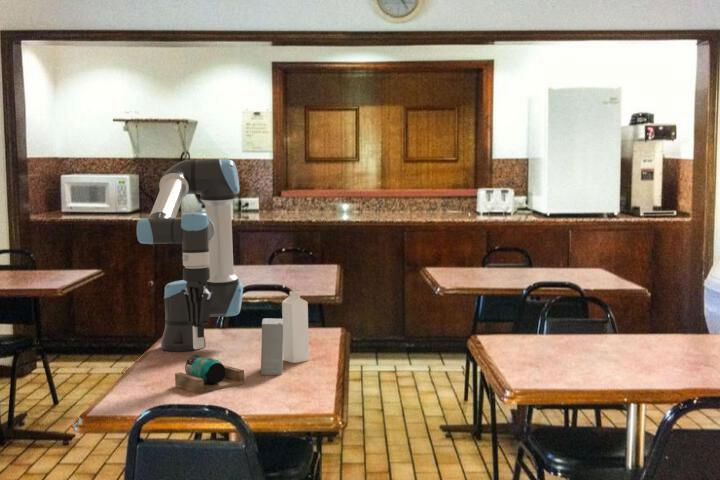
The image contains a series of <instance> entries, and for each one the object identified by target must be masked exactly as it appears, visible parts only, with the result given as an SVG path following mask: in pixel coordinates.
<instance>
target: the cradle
mask: <svg viewBox="0 0 720 480" xmlns="http://www.w3.org/2000/svg"><path fill="white" fill-rule="evenodd" d="M223 365H224V367H225V371H226V373H225V377H224V379H223V380H222V381H221V382H219V383H216V384H207V383H204V381H203V379H202V378H198V377H195V376H191V375H188V374H186V373H184V372H176V373H174V379H175V380H174V381H175V385H174V386H175V388H179V389H181V390H185V391H188V392H192V393H194V394H205V393H207V392H212V391H217V390H222V389H225V388H230V387H234V386H241V385H243V384H245V382H246V381H245V369H239V368H237V367H232V366H229V365H226V364H223Z"/></svg>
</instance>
